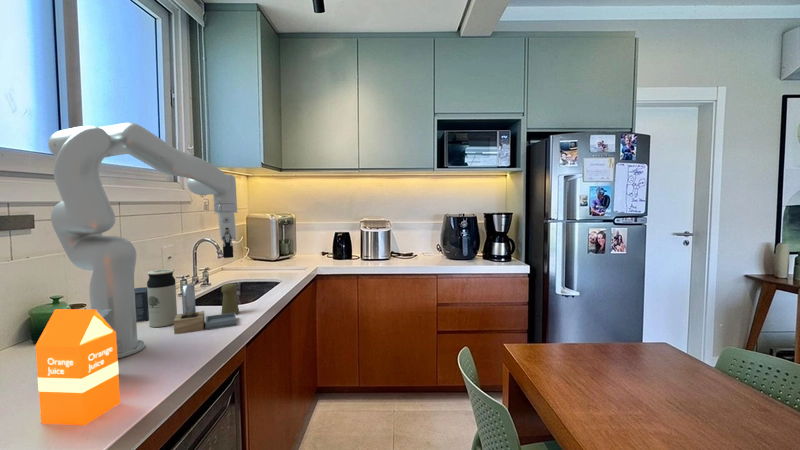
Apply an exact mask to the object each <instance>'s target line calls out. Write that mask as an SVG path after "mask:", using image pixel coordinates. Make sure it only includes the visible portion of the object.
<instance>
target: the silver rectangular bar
mask: <svg viewBox="0 0 800 450" xmlns="http://www.w3.org/2000/svg"><path fill="white" fill-rule="evenodd" d="M181 303H182V304H181V305H182V314H183V319H184V318H192V317H196V312H197V311H196V310H197V309H196V291H195V283H189V284H182V285H181Z"/></svg>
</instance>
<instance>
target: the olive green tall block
mask: <svg viewBox="0 0 800 450" xmlns="http://www.w3.org/2000/svg"><path fill="white" fill-rule="evenodd" d="M220 291H221V293H222V303H221V304H222V305H221V313H220V314H228V313H235V314H236V315H238V313H239V314H240V310H239V304H238V299H237V298H238V297H237V294H236V293H237V291H238V287H237V284H235V283H225V284H223V285H222V286H221V290H220Z"/></svg>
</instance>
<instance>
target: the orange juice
mask: <svg viewBox="0 0 800 450" xmlns="http://www.w3.org/2000/svg"><path fill="white" fill-rule="evenodd" d="M34 347H35V354H36V356H35V357H36V368H37V371H36V372H37V388H38V389H37V390H38V397H39V411H40V423H41V424H45V425H72V426H73V425H74V426H86V425H88V424H89V423H91V422H92V421H93V420H95V419H97V418H99V417H101V416H102V415H103V414H105V413H107V412H109V411H110V410H111V409H113V408H114V407H116V406H118V405H119V404H121V395H120V393H121V392H120V377H119V373H120V372H119V371H120V369H119V358H117V343H116V332H115V331H114V330H113V329H112V328H111V327H110V326H109V324H108V323H107V322H106V321H105V320H104V319H103V318H102V317H101V315H100V314H99V313H98V312H97V311H96V310H91V309H78V308H77V309H71V308H70V309H69V308H68V309H67V308H65V309H64V308H62V309H60V308H59V309H55V308H54V311H53V313H52V315H51V316H50V318H49V320H48V321H47V323H46V326H45V328H43V331H42V333H41V335H40V336H39V338H38V340H37V342H36V343H35V346H34Z"/></svg>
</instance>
